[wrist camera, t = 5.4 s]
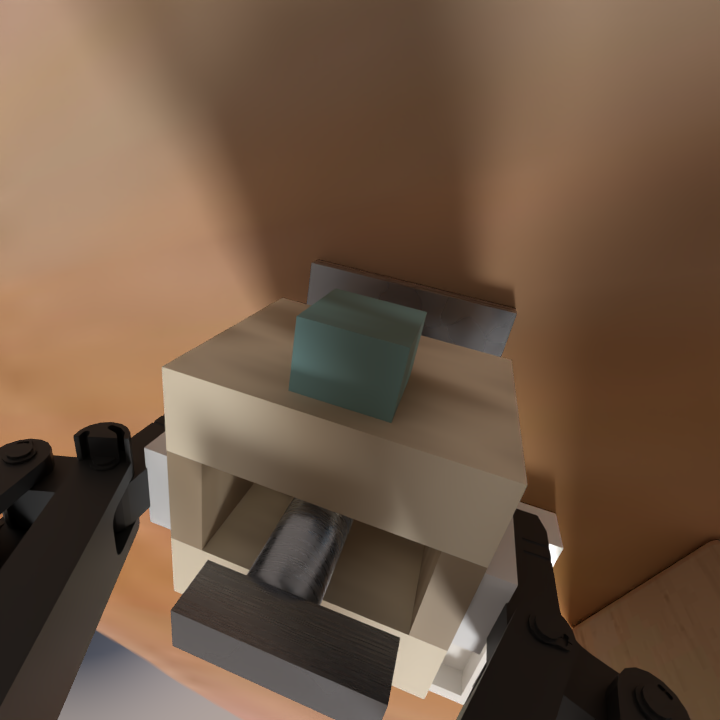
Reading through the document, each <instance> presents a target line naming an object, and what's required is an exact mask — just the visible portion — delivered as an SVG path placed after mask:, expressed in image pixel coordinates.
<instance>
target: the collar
mask: <svg viewBox="0 0 720 720" xmlns="http://www.w3.org/2000/svg"><path fill="white" fill-rule="evenodd" d="M426 314H427V312H425V311H421V310H417V309H413V308H409V307H406V306H402V305H398V304H394V303H390V302H386V301H383V300H379V299H375V298H371V297H367V296H363V295H360V294H356V293H352V292H348V291H344V290H340V289H337V288H335V289H334V290H332V291H331V292H330V293H328V294H327V295H325V296H324V297H323V298H321V299H320V300H318V301H317V302H316V303H314V304H313V305H308V304H304V303H300V302H297V301H293V300H289V299H286V298H281V299H279V300H277V301H276V302H274V303H272V304H270V305H269V306H267V307H265V308H263V309H262V310H260V311H258V312H256V313H255V314H253V315H251V316H249V317H248V318H246V319H244V320H243V321H241V322H239V323H237V324H236V325H234V326H232V327H230V328H229V329H227V330H225V331H223V332H222V333H220V334H218V335H216V336H215V337H213V338H211V339H209V340H208V341H206V342H204V343H202V344H201V345H199V346H197V347H195V348H194V349H192V350H190V351H188V352H187V353H185V354H183V355H182V356H180V357H178V358H176V359H175V360H173V361H171V362H169V363H168V364H166V365H164V366H162V377H163V395H164V414H165V432H166V451H167V469H168V487H169V506H170V524H171V543H172V561H173V580H174V591H177V592H179V593H181V594H183V593H184V592H185V590H186V589H187V588H188V586H189V585H190V584H191V582H192V581H193V579H194V578H195V577H196V575H197V574H198V573H199V571H200V570H201V569H202V567H203V566H204V564H205V563H206V562H207V560H210V561H212V562H215V563H217V564H220V565H222V566H225V567H227V568H230V569H232V570H235V571H237V572H239V573H242V574H244V575H247V573H248V572H249V570H250V569H251V567H252V565H253V564H254V562H255V560H256V559H257V557H258V555H259V554H260V552H261V550H262V549H263V547H264V545H265V544H266V542H267V541H268V539H269V537H270V536H271V534H272V532H273V531H274V529H275V527H276V526H277V524H278V522H279V521H280V519H281V517H282V516H283V514H284V512H285V511H286V509H287V508H288V506H289V504H290V503H291V501H292V499H293V498H294V497H295V498H298V499H300V500H303V501H306V502H308V503H311V504H314V505H317V506H319V507H322V508H325V509H328V510H330V511H333V512H336V513H338V514H341V515H344V516H347V517H349V518H352V519H354V520H353V523H352V525H351V528H350V530H349V533H348V535H347V538H346V541H345V543H344V546H343V548H342V551H341V553H340V556H339V559H338V561H337V564H336V566H335V569H334V571H333V574H332V577H331V579H330V582H329V584H328V587H327V589H326V592H325V595H324V597H323V600H322V602H321V606H323V607H326V608H328V609H331V610H333V611H336V612H338V613H341V614H343V615H346V616H348V617H351V618H353V619H355V620H358V621H360V622H363V623H365V624H368V625H370V626H373V627H375V628H378V629H380V630H383V631H385V632H388V633H390V634H392V635H395V636H397V637H400V642H399V648H398V653H397V658H396V664H395V669H394V674H393V680H392V686H394V687H397V688H399V689H401V690H404V691H406V692H408V693H410V694H413V695H415V696H417V697H420V698H422V699H425V697H426V695H427V692H428V690H429V688H430V686H431V684H432V682H433V680H434V678H435V676H436V674H437V672H438V670H439V668H440V666H441V663H442V661H443V659H444V657H445V655H446V653H447V651H448V649H449V647H450V645H451V643H452V641H453V639H454V637H455V634H456V632H457V630H458V628H459V626H460V624H461V622H462V620H463V618H464V616H465V614H466V612H467V610H468V608H469V605H470V603H471V601H472V599H473V597H474V595H475V593H476V591H477V589H478V587H479V585H480V583H481V581H482V579H483V576H484V574H485V572H486V570H487V568H488V566H489V564H490V562H491V560H492V558H493V556H494V554H495V552H496V550H497V547H498V545H499V543H500V541H501V539H502V537H503V535H504V533H505V531H506V529H507V527H508V525H509V523H510V521H511V518H512V516H513V514H514V512H515V510H516V508H517V506H518V504H519V502H520V500H521V498H522V496H523V494H524V492H525V489H526V487H527V477H526V469H525V462H524V454H523V446H522V438H521V430H520V422H519V414H518V406H517V399H516V391H515V383H514V375H513V367H512V360H510V359H506V358H502V357H499V356H495V355H491V354H488V353H484V352H480V351H477V350H473V349H469V348H466V347H462V346H458V345H455V344H451V343H447V342H444V341H440V340H436V339H433V338H429V337H425V336H421V333H422V330H423V326H424V322H425V318H426Z"/></svg>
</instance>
